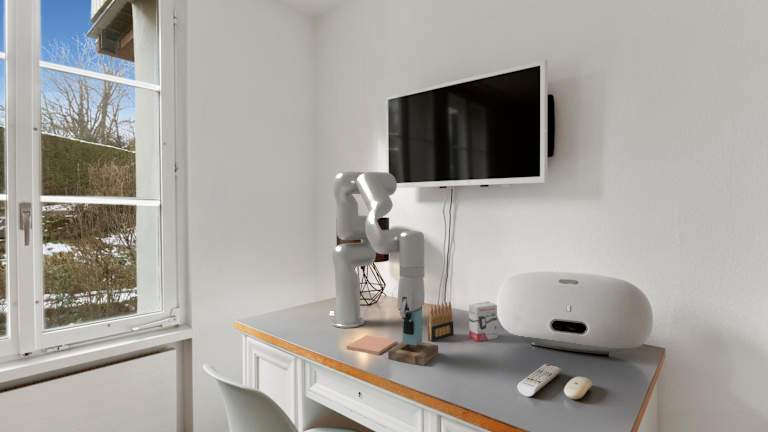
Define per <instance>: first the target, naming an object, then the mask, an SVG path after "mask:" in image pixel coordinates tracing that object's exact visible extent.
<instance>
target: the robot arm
mask: <svg viewBox="0 0 768 432" xmlns="http://www.w3.org/2000/svg"><path fill="white" fill-rule="evenodd" d="M397 187H398V184H397V180H396V177H395V176H394V175H393V174H391V173H390V172H383V171H382V172H381V171H351V170H350V171H342V172H339V173H337V174H336V175H335V177H334V179H333V183H332V190H333V195H334V199H335V203H336V210H335V211H336V214H335V215H336V216H335V217H336V220H335V222H336V227H335V228H336V235H337V237H338V239H340V240H343V241H355V240H360V242H351V243H350V242H349V243H341V244H338V245H336V246H335V247H334V248H333V250H332V252H331V253H332V255H331V257H332V262H333V266H334V275H335V277H334V278H335V279H334V280H335V283H334V284H335V310H330V311H329V314H328V316H329V317H330V318H333V320H332V322H331V323H332V326H334V327H337V328H342V329H343V328H344V329H345V328H347V329H350V328H351V329H352V328H357V327H361V326H363V325H364V324H365V319H364V318H362V317H361V295H360V294H361V285H360V284H361V281H360V280H361V278H360V276H359V274H358V273H357V271H356V270H355V269H354V268H358V267H366V266H371V265H373V264H374V262H375V261H376V256H377V254H380V255H389V254H390V255H391V254H399V260H398V261H399V280H398V288H397V310H399V315H400V316H401V317H402V318H403V330H402V333H403V332H404V334H409V335H413V334H414V321H412V320H413V311H415V310H416V309H418V308H421V309H422V310H423V307H424V305H425V300H426V299H425V281H424V278H425V236H424V235H425V234H424V233H423V232H422V231H418V230H409V229H405V228H404V229H402V228H399V229H396V228H395V229H382V228H381V226H380V225H379V222H378V220H380V219H381V218H383V217H385V216H387V215H388V214H389V213H390V212H391V210H392V209H393V206H394V205H393V204H394V203H393V201H392V199H391V197H390V196H392V195H394V194H395V193H396V191H397ZM354 195H361V198H362V199H363V202H364V204H365V206H366V208H367V210H368V213H367V215H359V203H358V201H357V199H356V198H355V196H354ZM407 308H408V309H409V310H410V311H409V310H406V309H407ZM406 312H407V313H410V316H409V315H408V314H407V313H406Z"/></svg>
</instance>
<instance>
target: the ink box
mask: <svg viewBox="0 0 768 432" xmlns="http://www.w3.org/2000/svg"><path fill="white" fill-rule="evenodd" d="M468 325H469V326H468V327H469V328H468V329H469V331H468V332H469V335H468V336H469V339H471V340H473V341H475V342H477V343H479V342H484V341H490V340H495V339H498V305H497V304H495V303H493V302H490V301H481V302H475V303H470V304H468Z"/></svg>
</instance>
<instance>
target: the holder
mask: <svg viewBox="0 0 768 432" xmlns="http://www.w3.org/2000/svg"><path fill="white" fill-rule="evenodd" d="M387 350H388V351H387V355H388V360H392V361H396V362H401V363H404V364H405V363H406V364H411V365H416V366H417V365H419V366H422V367H423V366H425V365H426V364H428V363H429V362H430V361H431V360H432V359H434V357H436V356H437V355H438V354H439V345H438V344H431V343H429V342H428V343H427V342H423V341H422V342H420V343H419V344H418V345H410V344H405V343H403V340H402V341H401V342H400V343H397V344H395V345H394V346H392V347H391V348H389V349H387Z"/></svg>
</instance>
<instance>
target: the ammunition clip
mask: <svg viewBox="0 0 768 432" xmlns="http://www.w3.org/2000/svg"><path fill="white" fill-rule="evenodd" d="M428 317H429V318H428V319H429V320H428V321H429V325H428V326H427V327H428V329H427V330H428V334H427V336H428V339H427V340H428V341H429V342H436V341H439V340H442V339H443V340H444V339H446V338H449V337H453V336H455V334H454V321H453V311H452V303H451V301H448V302H445V303H443V302H442V303H441V305H440V303H438V304H437V305H436V304H434V305H433V304H432V305H430V308H429V316H428Z"/></svg>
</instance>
